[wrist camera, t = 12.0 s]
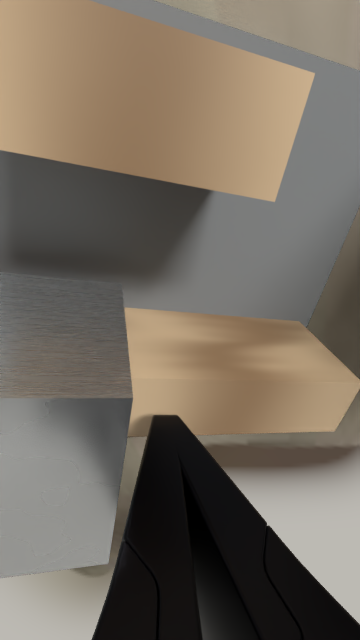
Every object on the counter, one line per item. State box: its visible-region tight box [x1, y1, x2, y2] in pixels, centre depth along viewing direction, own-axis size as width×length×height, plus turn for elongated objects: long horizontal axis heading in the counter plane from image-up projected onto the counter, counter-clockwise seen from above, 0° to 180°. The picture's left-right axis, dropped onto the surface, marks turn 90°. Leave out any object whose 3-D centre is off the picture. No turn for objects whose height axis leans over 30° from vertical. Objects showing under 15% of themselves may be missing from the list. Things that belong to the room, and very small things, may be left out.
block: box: [0, 0, 360, 437], centre depth 8 cm, size 14×10×6 cm
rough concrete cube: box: [0, 272, 133, 578], centre depth 8 cm, size 4×5×5 cm
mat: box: [0, 0, 360, 328], centre depth 11 cm, size 14×12×1 cm
